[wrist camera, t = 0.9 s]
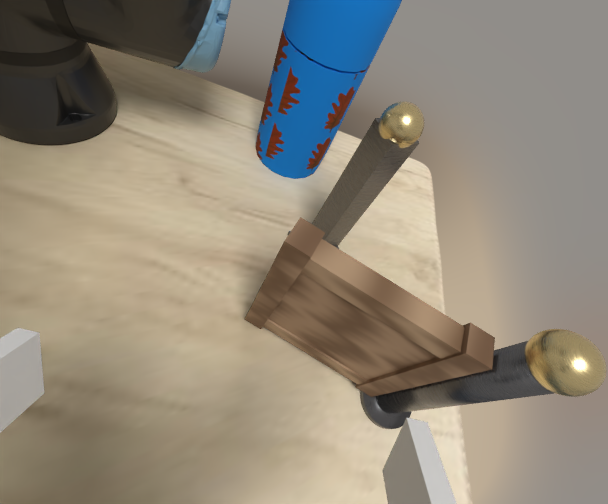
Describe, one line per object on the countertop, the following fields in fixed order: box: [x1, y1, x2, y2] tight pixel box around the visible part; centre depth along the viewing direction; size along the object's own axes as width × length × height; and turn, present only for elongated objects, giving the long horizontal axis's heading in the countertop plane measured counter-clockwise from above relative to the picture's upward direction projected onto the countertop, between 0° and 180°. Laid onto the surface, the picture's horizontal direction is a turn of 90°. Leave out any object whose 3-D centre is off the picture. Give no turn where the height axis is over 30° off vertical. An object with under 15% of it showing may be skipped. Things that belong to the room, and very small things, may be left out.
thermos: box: [256, 0, 402, 179], centre depth 40 cm, size 11×11×25 cm
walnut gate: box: [245, 217, 495, 397], centre depth 27 cm, size 16×2×16 cm, turn 63°
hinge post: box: [361, 329, 606, 429], centre depth 26 cm, size 6×6×22 cm
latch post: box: [288, 102, 424, 249], centre depth 33 cm, size 6×6×22 cm
